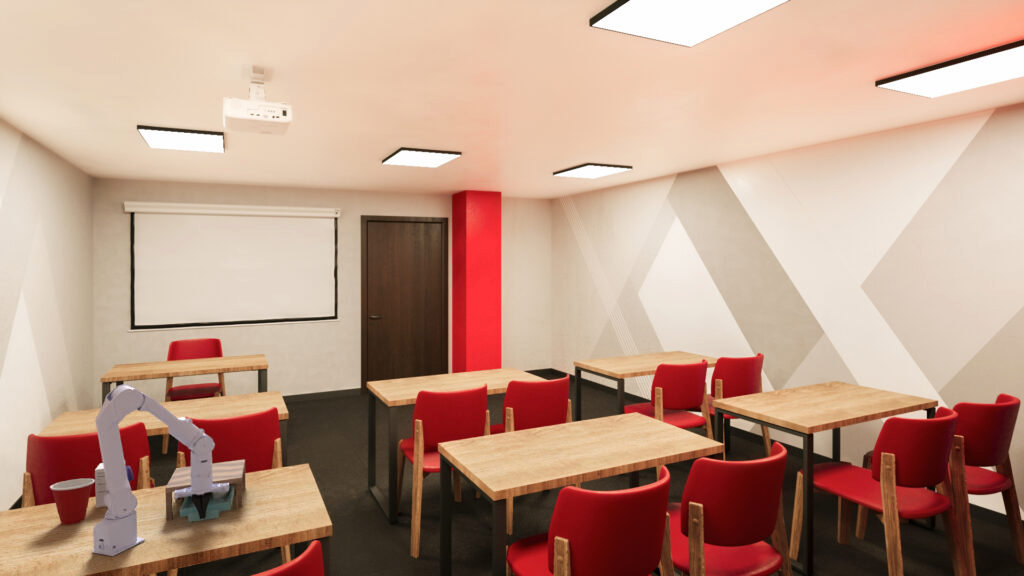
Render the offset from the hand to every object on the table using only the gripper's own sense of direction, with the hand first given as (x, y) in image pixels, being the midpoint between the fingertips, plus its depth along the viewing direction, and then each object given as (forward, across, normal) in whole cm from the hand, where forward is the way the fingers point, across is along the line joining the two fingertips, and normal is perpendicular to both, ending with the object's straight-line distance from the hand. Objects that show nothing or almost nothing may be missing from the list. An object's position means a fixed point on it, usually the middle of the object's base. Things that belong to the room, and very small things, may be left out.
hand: (202, 517), depth 168 cm
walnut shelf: (+1, 0, +16) cm, 16 cm away
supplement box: (+1, -30, +30) cm, 43 cm away
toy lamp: (+1, -22, +10) cm, 24 cm away
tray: (+1, 0, +12) cm, 12 cm away
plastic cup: (+1, -37, +18) cm, 41 cm away
